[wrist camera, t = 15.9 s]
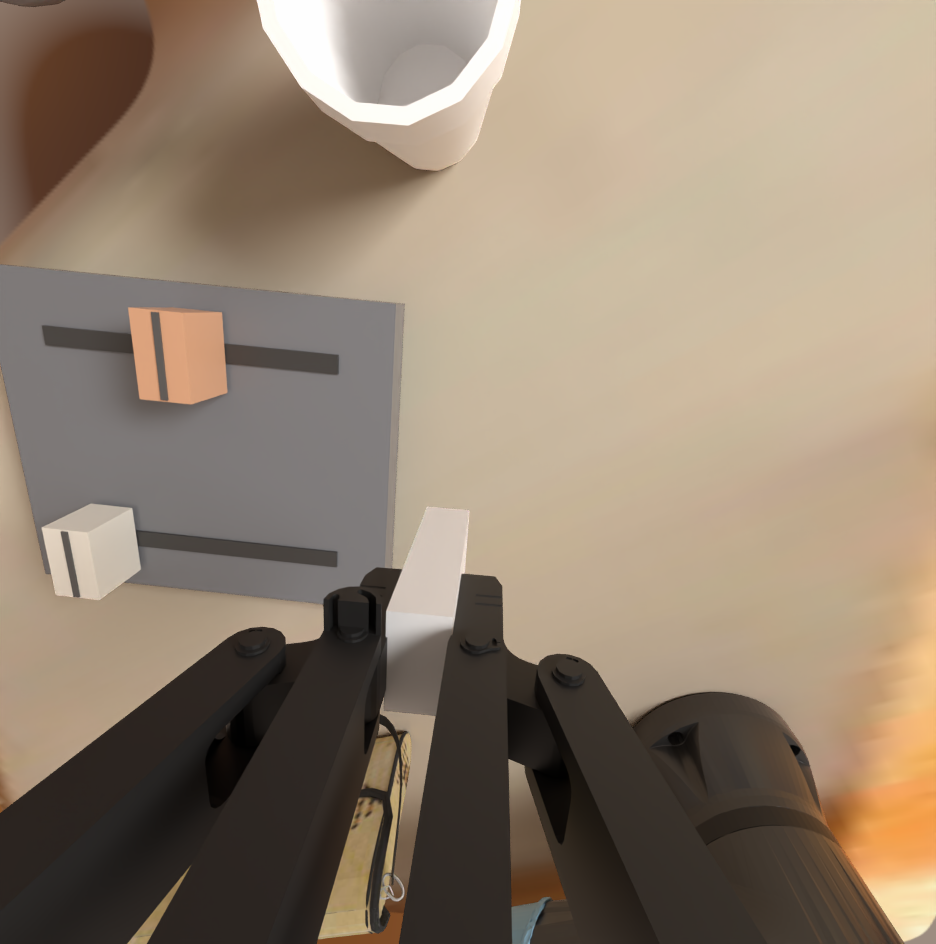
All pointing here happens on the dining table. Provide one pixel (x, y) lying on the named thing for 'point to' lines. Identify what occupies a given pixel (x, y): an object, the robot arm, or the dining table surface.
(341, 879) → the clutch purse
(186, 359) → the fader
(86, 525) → the fader
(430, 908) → the robot arm
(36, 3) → the coffee pot
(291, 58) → the foam cup
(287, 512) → the slider panel
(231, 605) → the dining table surface
